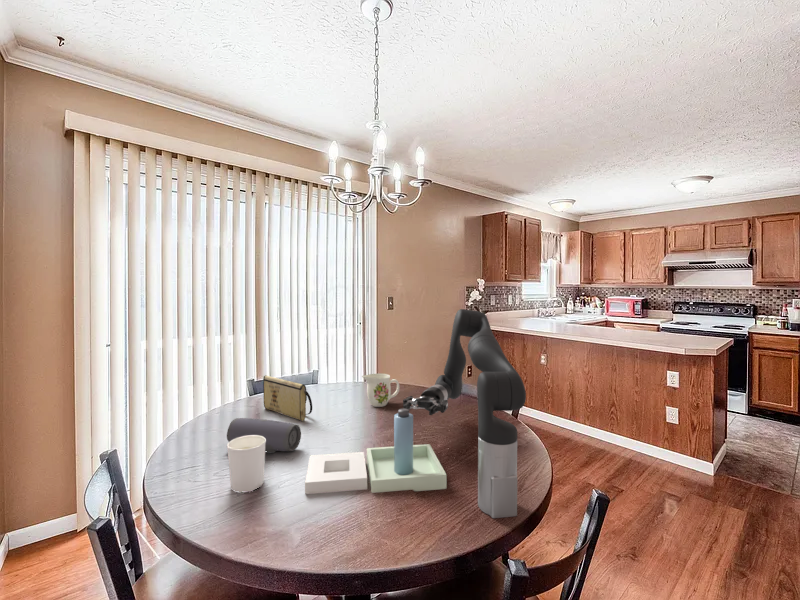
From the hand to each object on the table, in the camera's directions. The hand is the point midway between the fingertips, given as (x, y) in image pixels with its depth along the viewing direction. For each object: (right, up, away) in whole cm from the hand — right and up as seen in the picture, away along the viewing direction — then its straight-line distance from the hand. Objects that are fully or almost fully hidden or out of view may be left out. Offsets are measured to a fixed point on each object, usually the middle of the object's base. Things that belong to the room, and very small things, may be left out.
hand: (417, 410), depth 120 cm
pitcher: (-14, -13, +55) cm, 58 cm away
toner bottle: (-4, -15, -9) cm, 18 cm away
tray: (-4, -16, -9) cm, 19 cm away
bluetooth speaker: (-50, -15, +7) cm, 53 cm away
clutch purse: (-53, -14, +43) cm, 70 cm away
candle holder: (-47, -16, -16) cm, 52 cm away
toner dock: (-23, -16, -12) cm, 31 cm away
